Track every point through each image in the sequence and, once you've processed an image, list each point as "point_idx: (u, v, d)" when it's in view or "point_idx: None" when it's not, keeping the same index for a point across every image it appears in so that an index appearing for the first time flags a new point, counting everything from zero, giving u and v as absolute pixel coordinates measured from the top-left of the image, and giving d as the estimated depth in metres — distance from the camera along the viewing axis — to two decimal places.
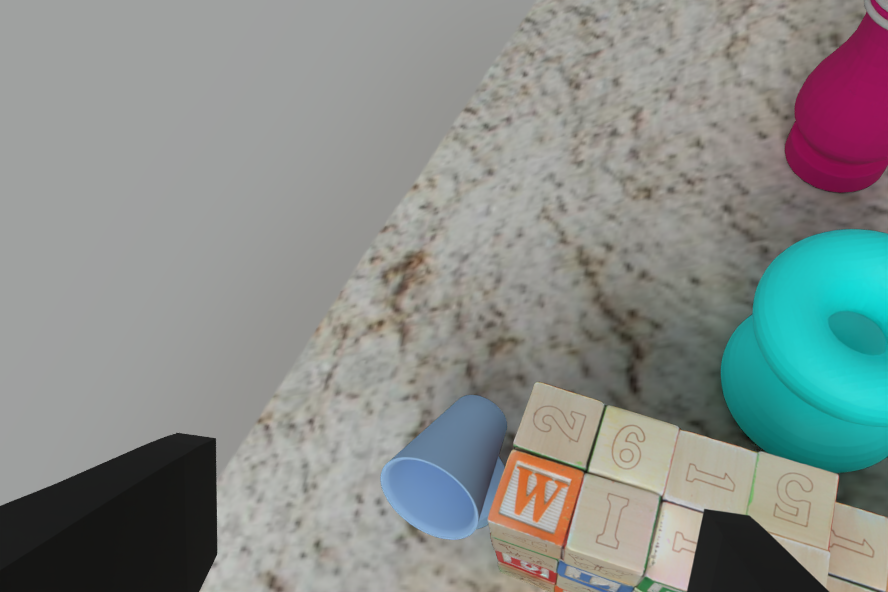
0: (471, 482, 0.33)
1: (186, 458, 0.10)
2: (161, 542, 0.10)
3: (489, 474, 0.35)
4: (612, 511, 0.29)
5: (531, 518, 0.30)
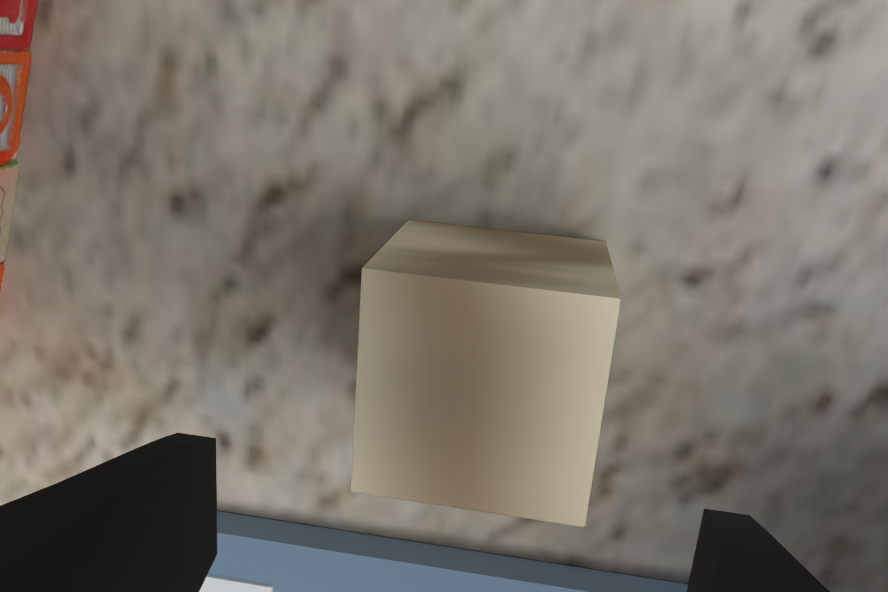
0: None
1: (186, 458, 0.10)
2: (161, 542, 0.10)
3: None
4: None
5: None
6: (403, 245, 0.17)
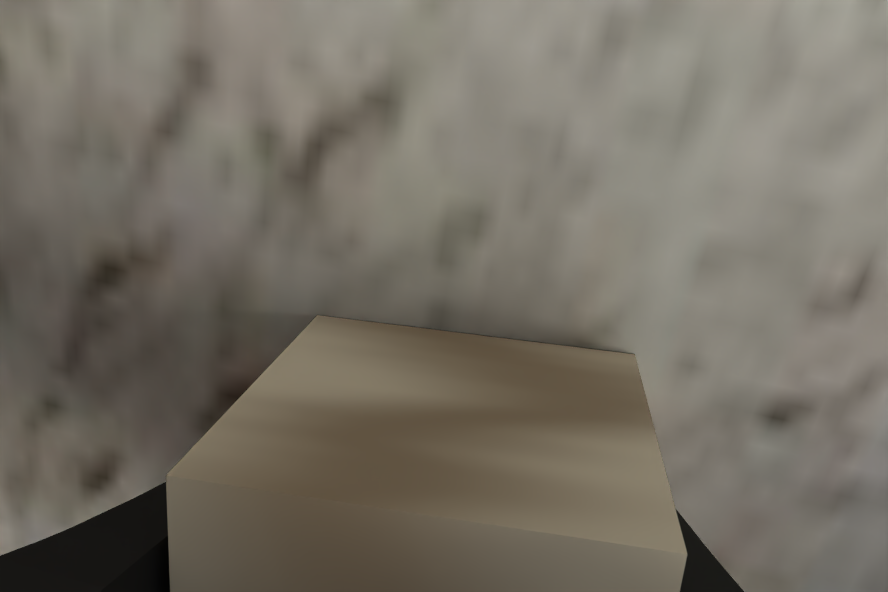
0: None
1: None
2: None
3: None
4: None
5: None
6: (281, 390, 0.10)
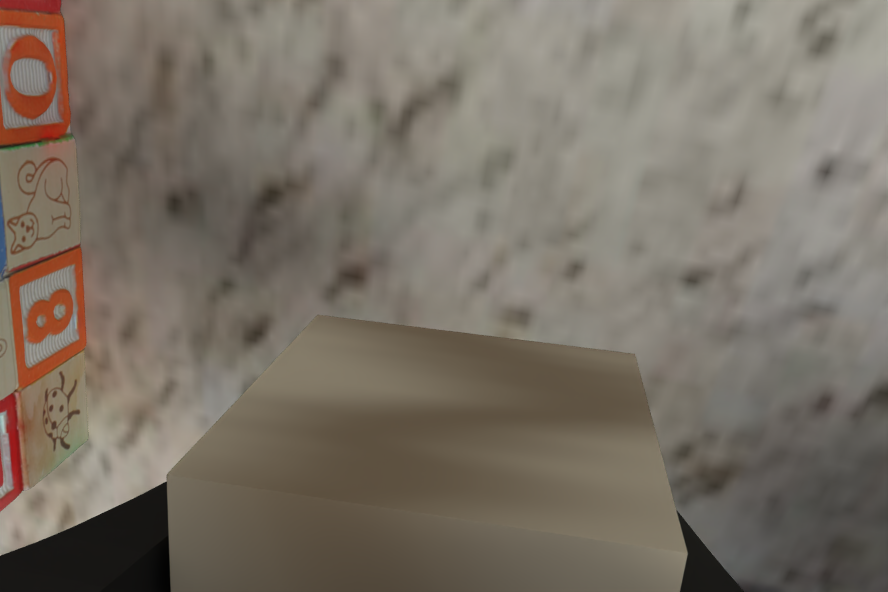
0: None
1: None
2: None
3: None
4: None
5: None
6: (281, 389, 0.10)
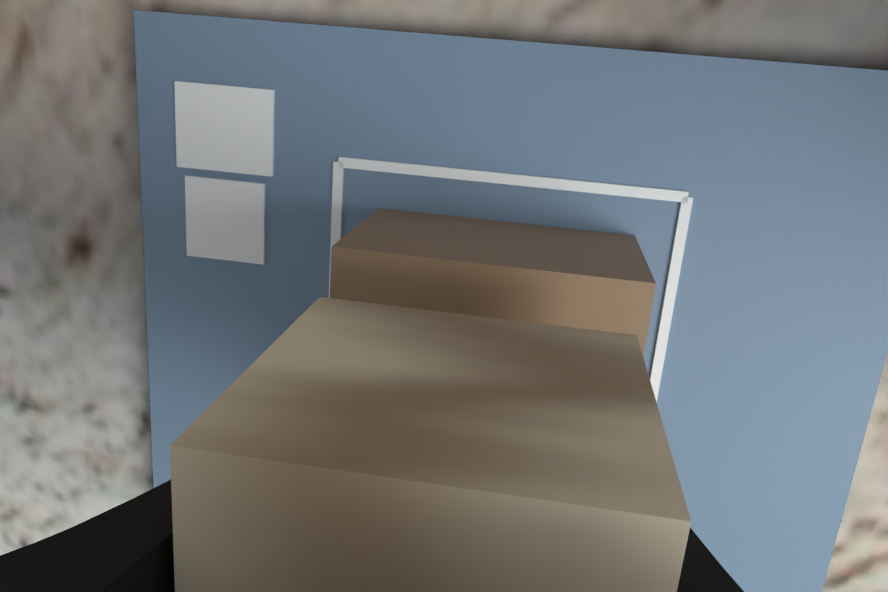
0: None
1: None
2: None
3: None
4: None
5: None
6: (284, 366, 0.10)
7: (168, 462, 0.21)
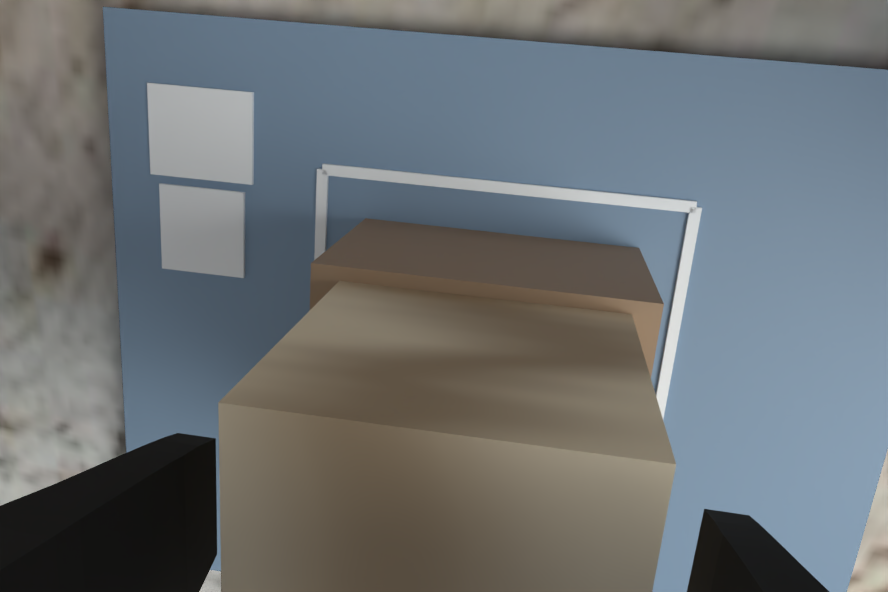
0: None
1: (186, 458, 0.10)
2: (161, 542, 0.10)
3: None
4: None
5: None
6: (312, 339, 0.11)
7: None
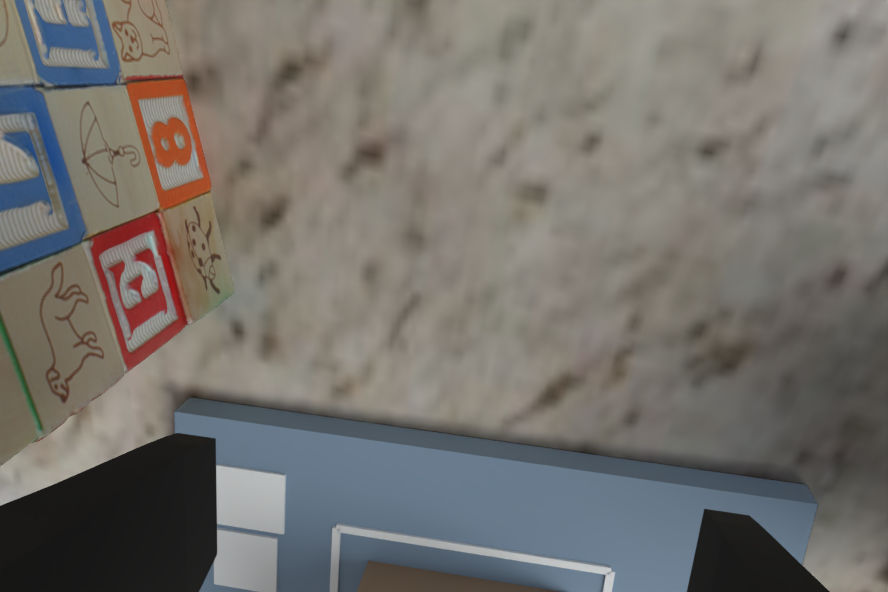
0: None
1: (186, 458, 0.10)
2: (161, 542, 0.10)
3: None
4: None
5: None
6: None
7: None
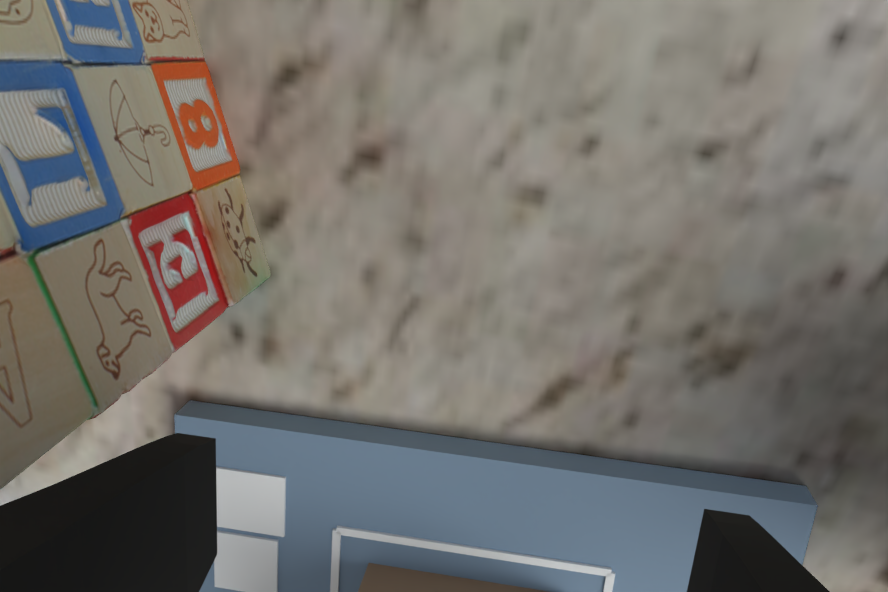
0: None
1: (186, 458, 0.10)
2: (161, 542, 0.10)
3: None
4: None
5: None
6: None
7: None
